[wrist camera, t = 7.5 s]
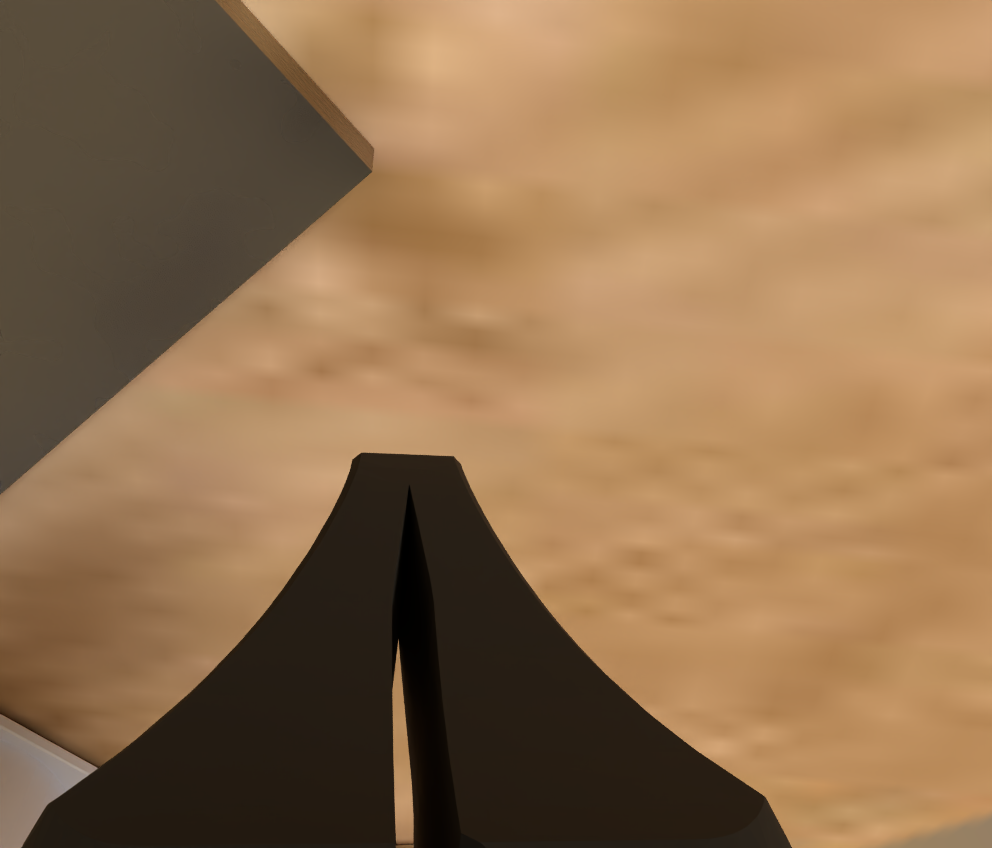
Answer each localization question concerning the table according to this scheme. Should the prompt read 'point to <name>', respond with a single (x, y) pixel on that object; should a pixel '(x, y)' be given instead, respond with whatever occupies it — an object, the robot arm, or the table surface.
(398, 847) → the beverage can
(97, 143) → the base plate
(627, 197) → the table surface
